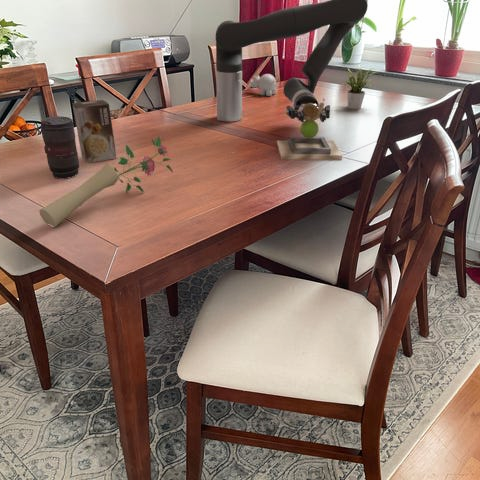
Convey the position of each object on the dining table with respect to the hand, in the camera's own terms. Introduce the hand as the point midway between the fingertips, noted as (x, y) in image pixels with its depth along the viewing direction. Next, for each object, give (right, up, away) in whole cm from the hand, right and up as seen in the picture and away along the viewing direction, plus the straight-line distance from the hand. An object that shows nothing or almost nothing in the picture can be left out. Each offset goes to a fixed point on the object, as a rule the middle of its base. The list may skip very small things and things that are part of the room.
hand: (313, 118), depth 143 cm
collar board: (0, -8, +7) cm, 11 cm away
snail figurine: (0, -5, +5) cm, 7 cm away
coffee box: (-63, -11, +2) cm, 64 cm away
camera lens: (-69, -18, -10) cm, 72 cm away
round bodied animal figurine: (-11, +29, +74) cm, 81 cm away
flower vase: (-53, -26, -25) cm, 64 cm away
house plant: (+26, +18, +54) cm, 63 cm away
